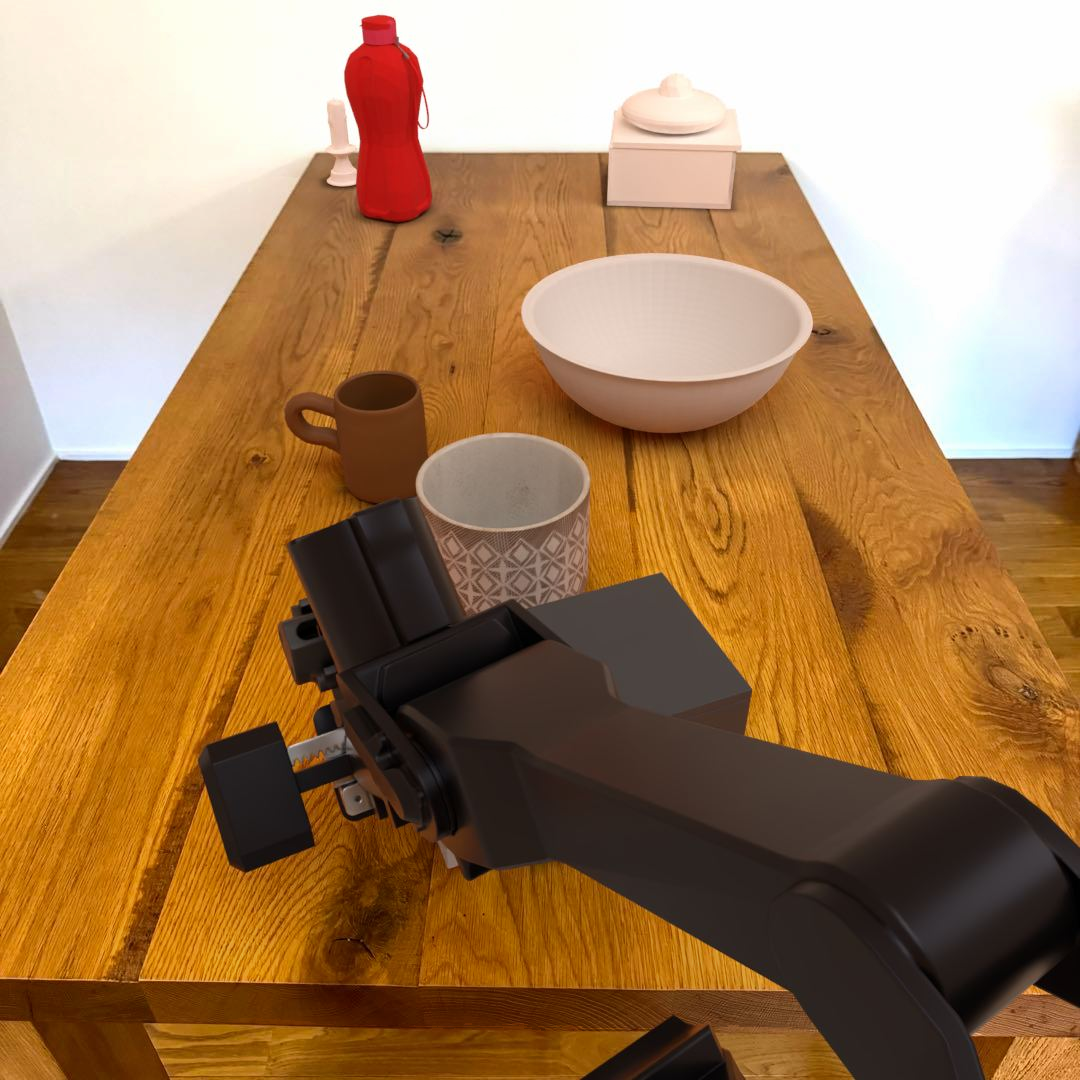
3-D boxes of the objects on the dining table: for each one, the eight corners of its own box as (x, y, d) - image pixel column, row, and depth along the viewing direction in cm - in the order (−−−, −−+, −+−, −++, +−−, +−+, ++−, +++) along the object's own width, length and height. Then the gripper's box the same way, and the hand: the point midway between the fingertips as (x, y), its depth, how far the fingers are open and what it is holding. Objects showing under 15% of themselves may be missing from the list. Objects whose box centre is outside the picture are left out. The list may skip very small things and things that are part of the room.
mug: (288, 507, 90) (270, 414, 85) (304, 459, 96) (288, 369, 91) (426, 507, 90) (417, 413, 85) (433, 458, 96) (426, 368, 91)
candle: (347, 189, 154) (337, 104, 146) (319, 183, 156) (308, 99, 149) (370, 178, 157) (361, 95, 150) (342, 172, 159) (332, 90, 152)
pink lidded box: (612, 165, 162) (616, 55, 152) (729, 168, 160) (740, 57, 150) (606, 205, 148) (610, 87, 138) (734, 209, 146) (747, 90, 137)
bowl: (795, 494, 92) (813, 395, 85) (494, 461, 96) (491, 364, 90) (798, 351, 113) (812, 263, 107) (551, 330, 117) (551, 244, 111)
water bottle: (418, 230, 141) (402, 28, 126) (350, 217, 145) (326, 20, 129) (451, 207, 147) (440, 13, 132) (385, 196, 151) (367, 6, 136)
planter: (619, 603, 80) (625, 493, 74) (476, 665, 75) (469, 552, 69) (532, 521, 89) (531, 415, 82) (398, 571, 83) (386, 463, 77)
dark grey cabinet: (536, 858, 62) (535, 757, 57) (474, 722, 71) (467, 623, 65) (735, 789, 66) (753, 689, 60) (653, 669, 75) (662, 571, 69)
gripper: (565, 514, 49) (479, 561, 63) (158, 636, 42) (167, 657, 57) (640, 741, 48) (536, 736, 63) (239, 900, 42) (227, 853, 56)
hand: (374, 740), depth 60 cm, fingers closed
